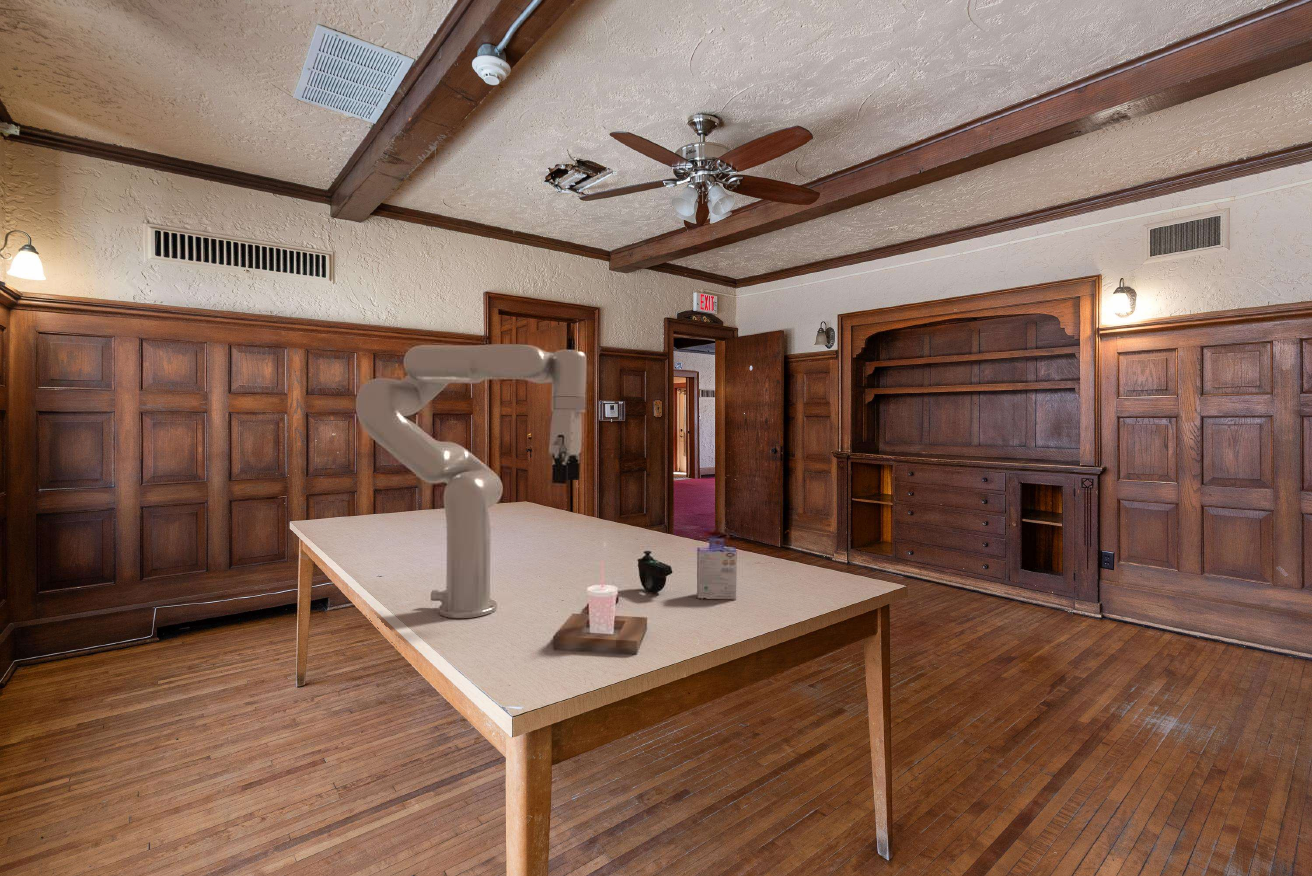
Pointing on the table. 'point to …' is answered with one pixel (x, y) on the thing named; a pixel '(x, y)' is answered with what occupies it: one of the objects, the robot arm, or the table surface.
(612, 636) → the brown wooden square frame
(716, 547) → the ink cartridge box
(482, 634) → the table surface
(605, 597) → the beverage cup
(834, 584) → the table surface
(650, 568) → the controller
